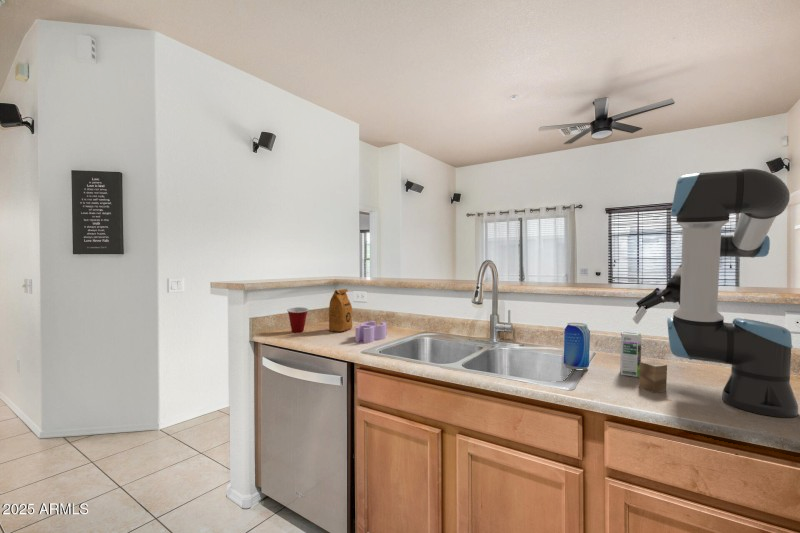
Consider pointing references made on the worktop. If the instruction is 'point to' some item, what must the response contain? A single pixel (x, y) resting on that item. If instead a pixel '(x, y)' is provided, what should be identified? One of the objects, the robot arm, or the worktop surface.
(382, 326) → the clip
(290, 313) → the plastic cup
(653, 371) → the walnut block
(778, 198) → the robot arm
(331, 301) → the coffee package
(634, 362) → the syrup box
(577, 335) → the blue canister
